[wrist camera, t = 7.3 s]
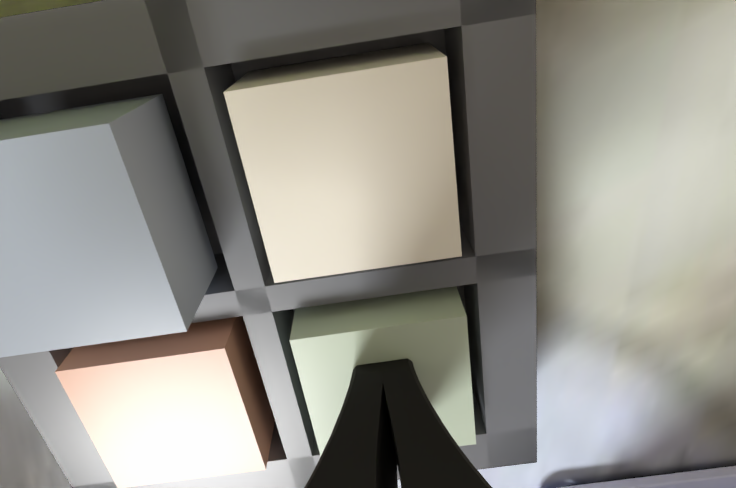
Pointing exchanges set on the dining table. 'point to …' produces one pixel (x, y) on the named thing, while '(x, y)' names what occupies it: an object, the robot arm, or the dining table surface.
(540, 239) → the dining table surface
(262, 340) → the grey divided tray
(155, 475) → the terracotta key
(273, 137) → the ivory key
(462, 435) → the sage key
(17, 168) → the slate key
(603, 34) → the dining table surface
